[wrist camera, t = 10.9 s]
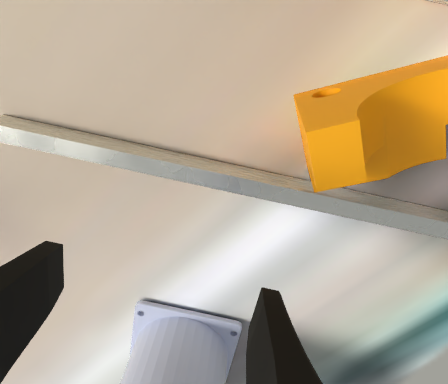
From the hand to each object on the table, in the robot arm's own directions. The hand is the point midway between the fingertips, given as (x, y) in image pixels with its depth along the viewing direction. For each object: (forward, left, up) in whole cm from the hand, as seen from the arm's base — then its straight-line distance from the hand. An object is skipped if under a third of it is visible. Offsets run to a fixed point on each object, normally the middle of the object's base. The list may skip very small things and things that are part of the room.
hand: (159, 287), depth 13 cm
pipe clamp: (+6, -10, -10) cm, 16 cm away
